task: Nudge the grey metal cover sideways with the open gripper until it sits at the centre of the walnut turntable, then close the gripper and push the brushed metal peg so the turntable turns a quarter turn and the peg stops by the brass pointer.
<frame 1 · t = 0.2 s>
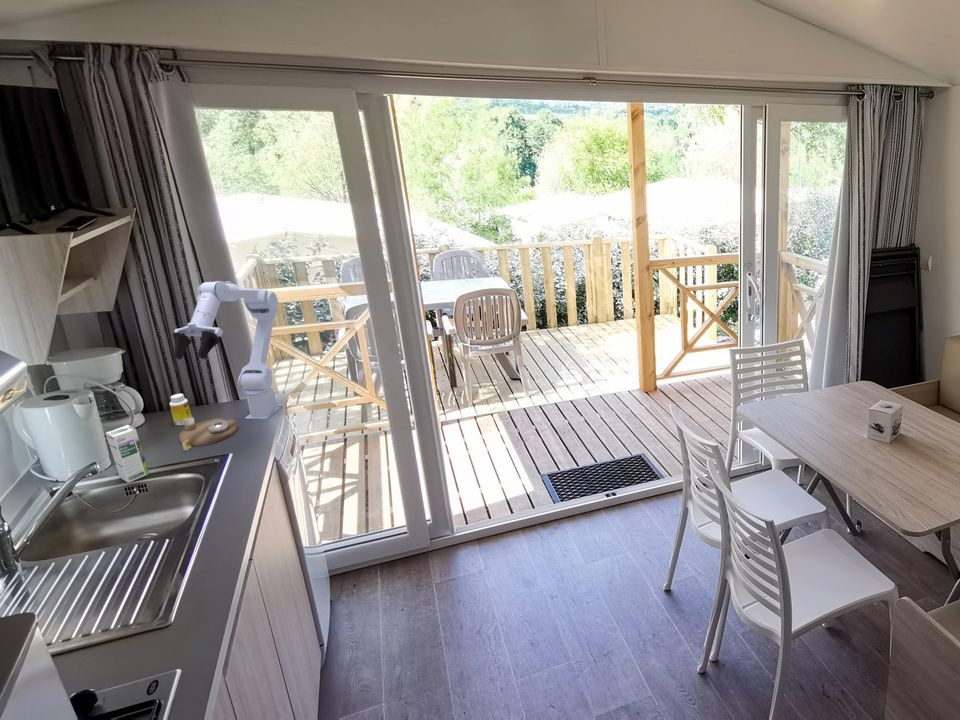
hand: (189, 357, 153), 31 cm above the worktop, tool tilted 45°, fingers open, 7 cm apart
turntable: (207, 426, 175), point 3 cm above the worktop, hinge at 0.0°, touching metal cover
supplement bottle: (184, 423, 186), on the worktop
metal cover: (219, 429, 174), point 2 cm above the worktop, touching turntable
turntable base: (209, 434, 176), on the worktop
syrup box: (134, 476, 153), on the worktop
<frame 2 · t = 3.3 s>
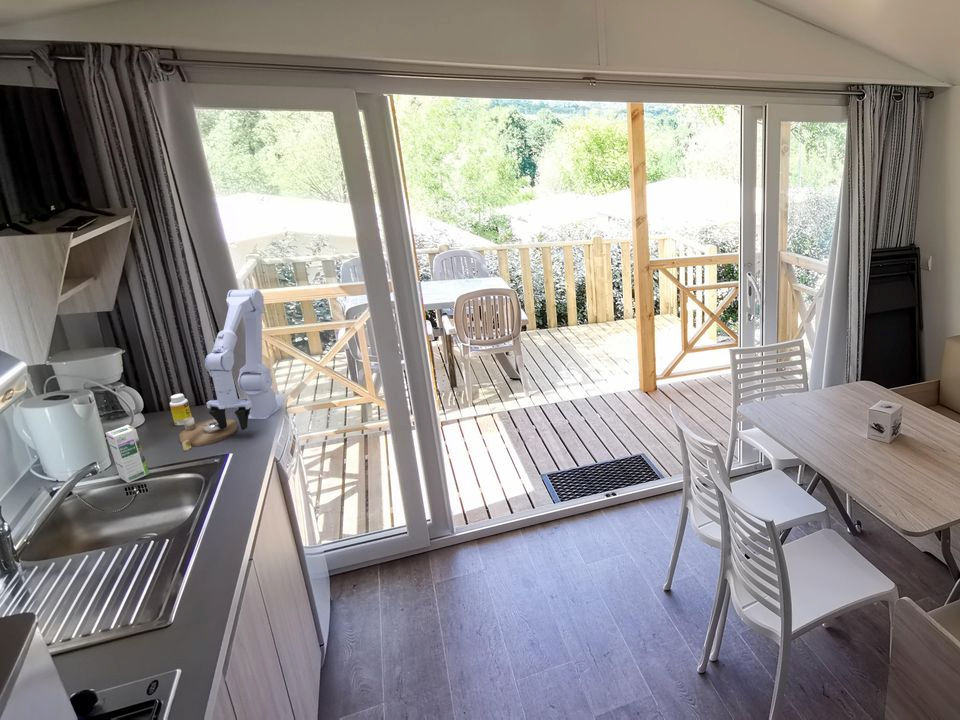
hand: (234, 428, 173), 3 cm above the worktop, tool pointing down, fingers open, 7 cm apart
metal cover: (214, 429, 175), point 2 cm above the worktop, touching gripper, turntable
everything else where it was.
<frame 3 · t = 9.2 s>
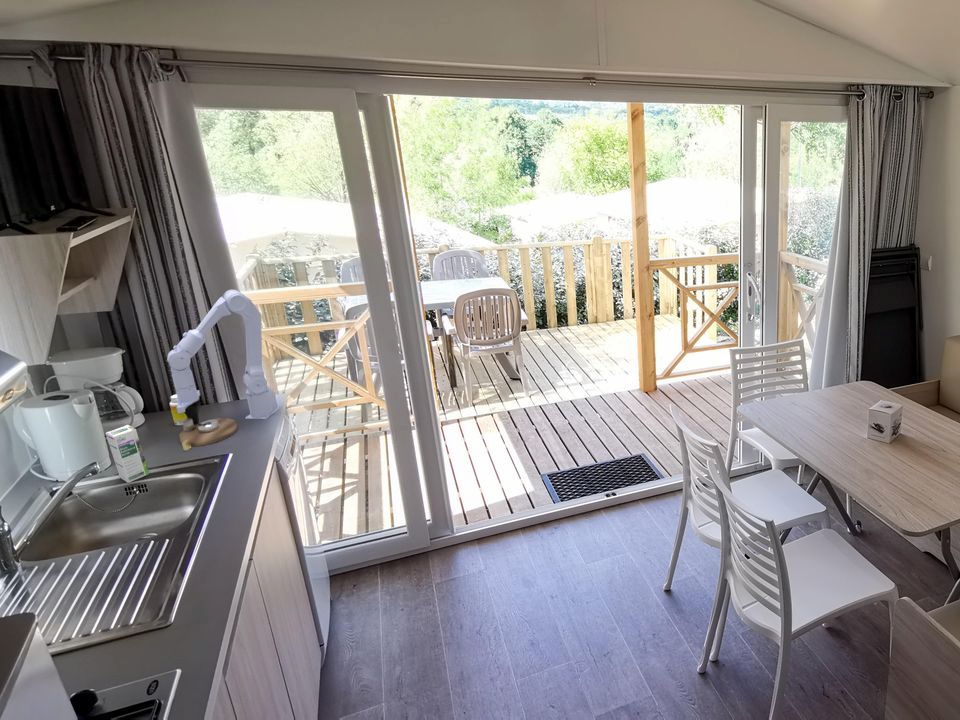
hand: (194, 424, 177), 3 cm above the worktop, tool pointing down, fingers closed, pressing on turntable
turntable: (207, 426, 175), point 3 cm above the worktop, hinge at 6.3°, touching gripper, metal cover
metal cover: (209, 429, 175), point 2 cm above the worktop, touching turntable
everything else where it was.
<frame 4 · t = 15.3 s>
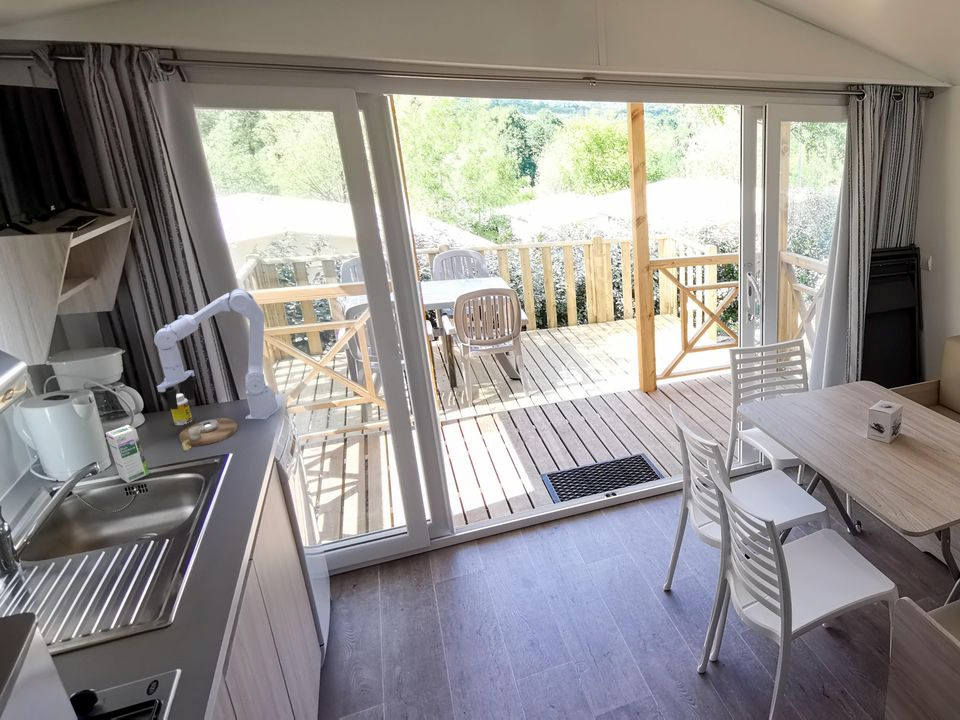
hand: (182, 404, 177), 9 cm above the worktop, tool pointing down, fingers open, 7 cm apart
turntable: (207, 426, 175), point 3 cm above the worktop, hinge at 93.7°, touching metal cover
everything else where it was.
at the end: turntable at +94° (first picture: +0°); metal cover 0.2 cm off-centre on the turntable, point 1.6 cm above the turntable's base; metal cover tilted 0° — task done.
